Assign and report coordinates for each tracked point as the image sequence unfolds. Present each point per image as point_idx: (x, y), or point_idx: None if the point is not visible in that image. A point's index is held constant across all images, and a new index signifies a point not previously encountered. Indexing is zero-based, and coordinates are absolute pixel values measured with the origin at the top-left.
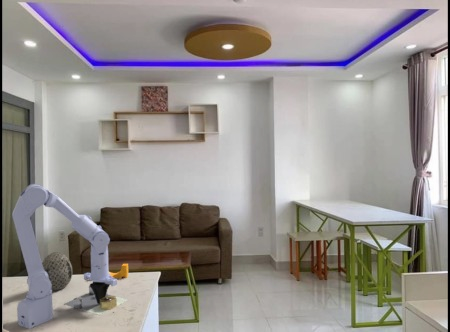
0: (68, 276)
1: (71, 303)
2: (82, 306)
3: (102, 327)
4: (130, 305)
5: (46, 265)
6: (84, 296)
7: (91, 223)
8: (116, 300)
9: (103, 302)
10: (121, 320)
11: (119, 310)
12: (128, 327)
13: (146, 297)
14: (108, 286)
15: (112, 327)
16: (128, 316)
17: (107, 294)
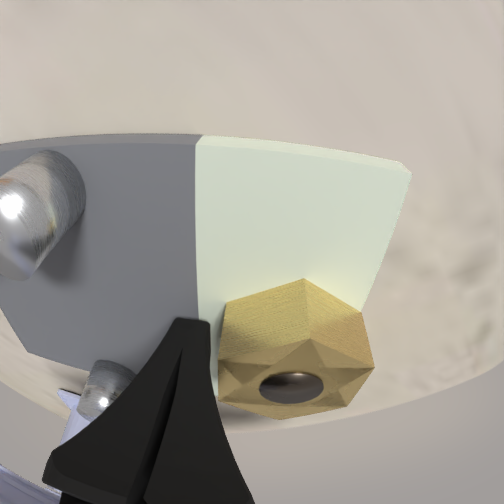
0: None
1: (41, 345)
2: (126, 369)
3: (377, 410)
4: (443, 209)
5: None
6: None
7: None
8: (370, 354)
9: (294, 416)
10: (441, 363)
11: (389, 302)
12: (478, 375)
13: (498, 12)
14: (236, 468)
15: (418, 398)
16: (467, 329)
17: (58, 149)
